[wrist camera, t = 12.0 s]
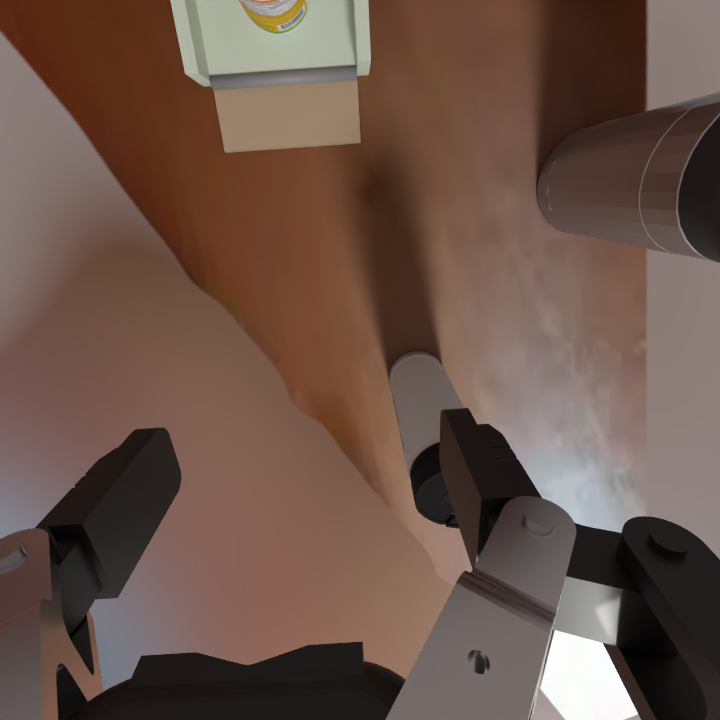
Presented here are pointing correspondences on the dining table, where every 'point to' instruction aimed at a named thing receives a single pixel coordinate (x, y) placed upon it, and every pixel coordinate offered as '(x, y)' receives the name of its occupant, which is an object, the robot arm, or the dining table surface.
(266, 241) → the dining table surface
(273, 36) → the tray
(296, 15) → the supplement bottle
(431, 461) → the travel mug
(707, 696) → the robot arm
